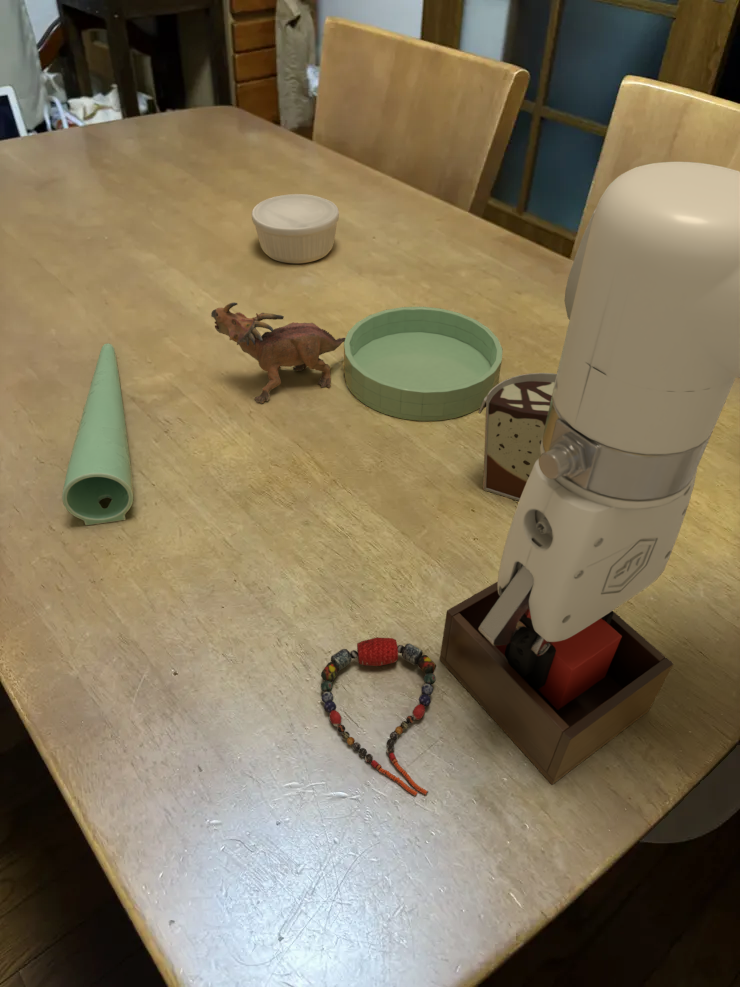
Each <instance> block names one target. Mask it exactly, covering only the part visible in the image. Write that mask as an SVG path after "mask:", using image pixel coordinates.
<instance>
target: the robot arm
mask: <svg viewBox="0 0 740 987" xmlns="http://www.w3.org/2000/svg"><path fill="white" fill-rule="evenodd" d="M595 209H596V210H595ZM595 209H594V210H595V214H594V217H593V221H592V224H591V228H590V233H589V237H588V241H587V246H586V250H585V255H584V259H583V263H582V268H581V272H580V276H579V281H578V285H577V290H576V294H575V298H574V303H573V307H572V312H571V316H570V320H569V319H568V325H567V331H566V333H565V338H564V341H563V345H562V350H561V355H560V359H559V364H558V367H557V373H556V374H557V375H556V380H555V385H554V389H553V393H552V398H551V402H550V406H549V411H548V415H547V419H546V424H545V428H544V432H543V436H542V440H541V446H540V450H541V455H540V457H539V459H538V460H537V461H536V462H535V464H534V467H533V469H532V471H531V474H530V476H529V478H528V480H527V482H526V485H525V487H524V490H523V492H522V495H521V497H520V500H519V501H518V503H517V506H516V508H515V511H514V513H513V516H512V520H511V523H510V526H509V529H508V532H507V535H506V539H505V543H504V546H503V550H502V553H501V554H502V555H501V559H500V561H499V567H498V576H497V582H498V594H499V596H500V598H499V599H498V600H497V602H496V603H495V605H494V606H493V607H492V609H491V610H490V612H489V613H488V615H487V616H486V617H485V619H484V620H483V622H482V623H481V624H480V626H479V629H478V630H479V631H480V632H481V633H482V634H483V635H484V637H485V638H486V639H487V640H488V641H489V642H490V643H491V644H492V645H494V646H497V645H507V646H506V650H505V657H506V659H507V660H508V663H509V665H510V666H511V667H512V668H513V669H514V670H515V671H516V672H517V673H518V674H519V675H520V676H521V677H525V678H526V680H527V681H528V682H529V683H530V684H531V685H532V686H533V687H534V688H536V689H539V688H541V687H542V686H544V685H545V683H546V680H547V677H548V674H549V671H550V668H551V665H552V662H553V659H554V656H555V653H556V649H555V647H554V646H553V645H552V642H557V641H562V640H565V639H568V638H570V637H572V636H573V635H575V634H577V633H578V632H580V631H582V630H583V629H585V628H586V627H588V626H590V625H591V624H593V623H594V622H596V621H597V620H599V619H602V620H604V621H605V622H607V623H608V624H610V622H611V619H612V617H613V614H614V612H615V611H614V610H616V609H618V608H619V607H621V606H622V605H624V604H625V603H626V602H628V601H629V600H631V599H633V598H634V597H635V596H637V595H638V594H640V593H641V592H643V591H644V590H646V589H647V588H648V587H650V586H651V585H652V584H654V583H655V582H656V581H657V580H658V579H659V578H660V577H661V576H662V574H663V573H664V571H665V569H666V567H667V565H668V562H669V560H670V557H671V555H672V552H673V549H674V547H675V544H676V542H677V539H678V536H679V533H680V531H681V528H682V526H683V522H684V519H685V516H686V514H687V510H688V509H689V508H688V507H689V505H690V501H691V497H692V494H693V491H694V486H695V482H696V478H697V477H696V476H697V472H698V467H699V464H700V462H701V460H702V457H703V455H704V453H705V450H706V448H707V445H708V444H709V441H710V439H711V437H712V434H713V432H714V429H715V427H716V425H717V422H718V420H719V418H720V415H721V413H722V411H723V409H724V407H725V404H726V401H727V399H728V396H729V395H730V392H731V390H732V387H733V385H734V383H735V380H736V379H737V378H738V379H740V171H739V170H737V169H733V168H729V167H726V166H720V165H715V164H709V163H703V162H693V161H664V162H663V161H661V162H653V163H648V164H643V165H639V166H636V167H634V168H632V169H629V170H627V171H625V172H623V173H621V174H620V175H619V176H617V177H616V178H615V179H614V180H613V181H611V182H610V183H609V185H608V186H607V187H606V189H605V190H604V192H603V193H602V195H601V196H600V198H599V200H598V202H597V204H596V207H595ZM529 611H530V615H531V619H530V618H528V617H527V616H528V613H529Z"/></svg>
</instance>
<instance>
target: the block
mask: <svg viewBox="0 0 740 987" xmlns="http://www.w3.org/2000/svg"><path fill="white" fill-rule="evenodd" d="M527 617H528V618H530V619H531V615H530V611H529V613H528V616H527ZM621 637H622V636H621V635H620V634H619V633H618V632H617V631H616V630H615V629H613V628H612V627H611V626H610V625H609V624H608V623H607V622H605V621H604V620H602V619H599V620H597V621H596V622H594V623H593V624H591V625H590V626H588V627H586V628H585V629H583V630H582V631H580V632H578V633H577V634H575V635H573V636H572V637H570V638H568V639H565V640H562V641H557V642H552V645H553V646H554V647H555V649H556V653H555V656H554V659H553V662H552V665H551V668H550V671H549V674H548V677H547V680H546V683H545V685H544V686H542V687H541V688H539V689H537V690H538V691H539V692H540V693H541V694H542V695H543V696H544V697H545V698H546V699H547V700H548V701H549V702H550V703H551V704H552V705H553V706H554V707H555V708H556V709H557V710H559V709H560V708H562V707H563V706H565V705H566V704H567V703H569V702H570V701H572V700H573V699H575V698H576V697H577V696H579V695H580V694H582V693H583V692H584V691H586V690H587V689H589V688H590V687H592V686H593V685H594V684H596V683H597V682H599V681H600V680H601V679H603V678H604V677H605V676H606V673H607V671H608V668H609V666H610V664H611V661H612V659H613V656H614V654H615V652H616V649H617V647H618V645H619V642H620V640H621ZM506 646H507V645H497V646H496V647H497V649H498V650H499V651H500V652H501V653H502V654H503V655H504V656H505V650H506Z"/></svg>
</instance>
